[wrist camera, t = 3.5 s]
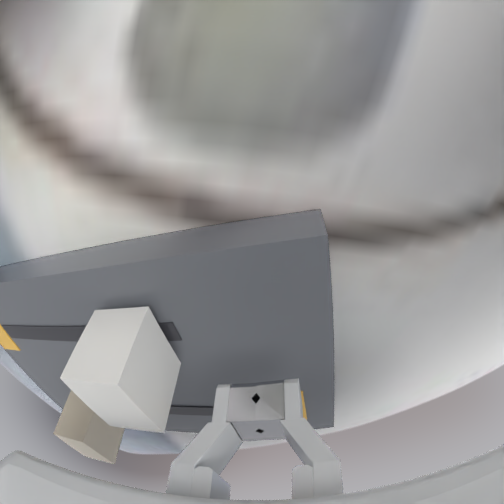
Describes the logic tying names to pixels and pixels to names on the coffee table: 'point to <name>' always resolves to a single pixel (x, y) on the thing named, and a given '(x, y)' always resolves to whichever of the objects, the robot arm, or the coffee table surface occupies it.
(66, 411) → the sand slider
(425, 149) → the coffee table surface
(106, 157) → the coffee table surface
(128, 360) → the off white slider
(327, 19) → the coffee table surface
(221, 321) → the switch panel
